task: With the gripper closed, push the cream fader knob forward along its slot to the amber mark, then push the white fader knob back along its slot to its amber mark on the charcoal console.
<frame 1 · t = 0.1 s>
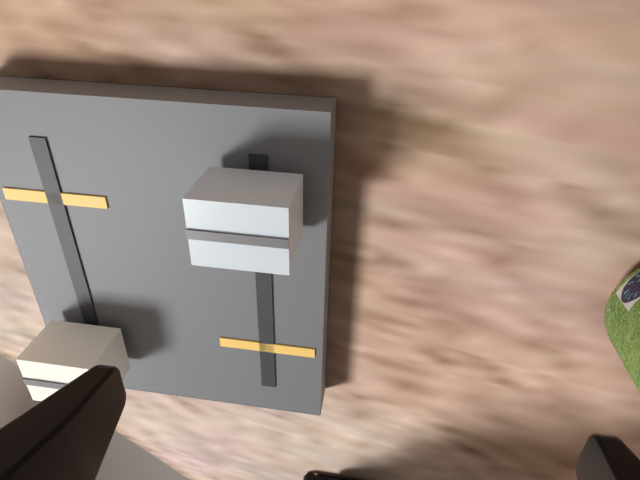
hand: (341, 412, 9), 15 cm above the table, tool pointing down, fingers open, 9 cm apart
console: (183, 255, 27), on the table
cream fader: (76, 364, 26), point 4 cm above the table, slide at 1.0 cm
white fader: (247, 219, 20), point 4 cm above the table, slide at 11.0 cm
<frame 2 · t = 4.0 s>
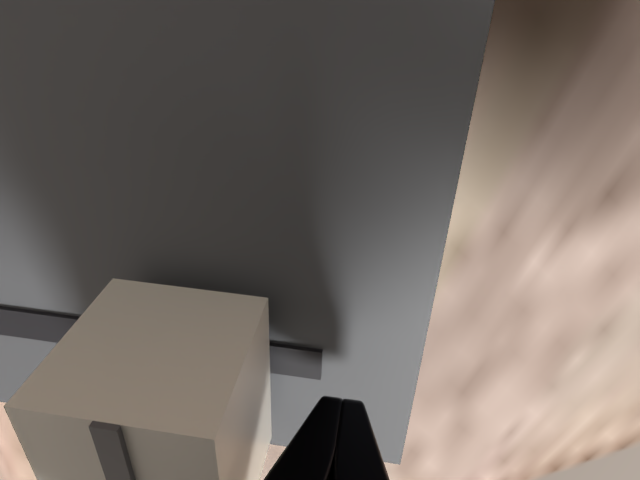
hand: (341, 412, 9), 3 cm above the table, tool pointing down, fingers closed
console: (8, 71, 10), on the table
cream fader: (168, 427, 9), point 4 cm above the table, slide at 1.5 cm, touching gripper
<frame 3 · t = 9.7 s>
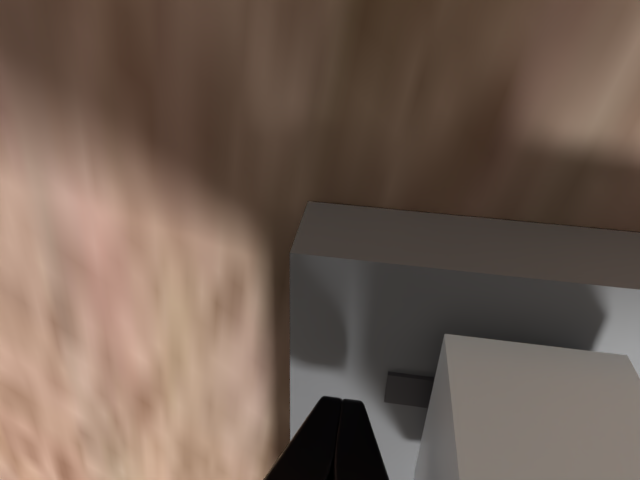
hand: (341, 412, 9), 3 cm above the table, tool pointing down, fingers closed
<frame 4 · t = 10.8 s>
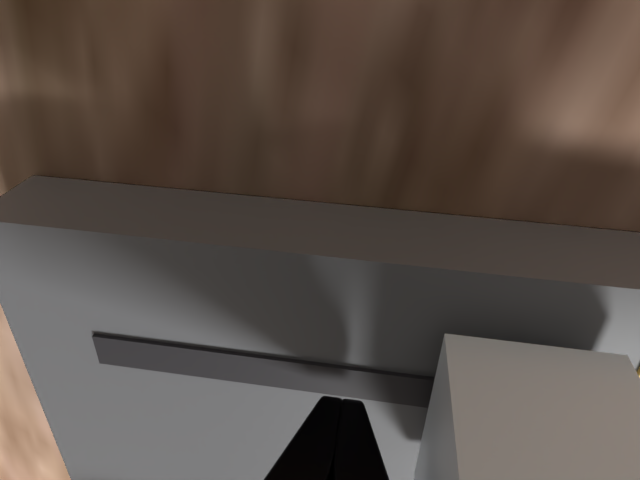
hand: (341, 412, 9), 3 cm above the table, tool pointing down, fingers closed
console: (396, 454, 14), on the table
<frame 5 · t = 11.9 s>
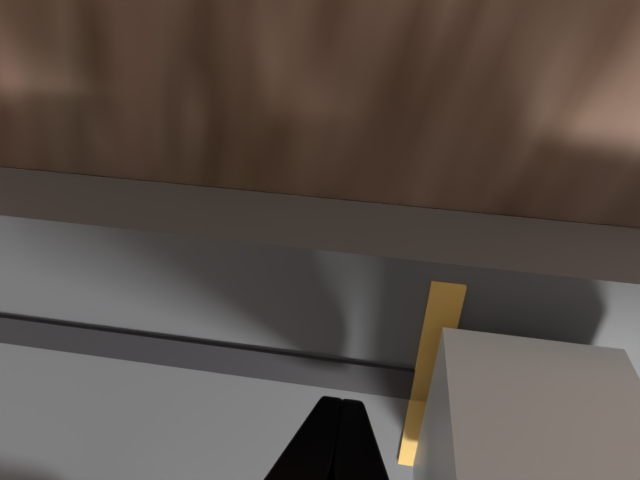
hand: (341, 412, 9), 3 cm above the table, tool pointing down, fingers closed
console: (266, 430, 15), on the table
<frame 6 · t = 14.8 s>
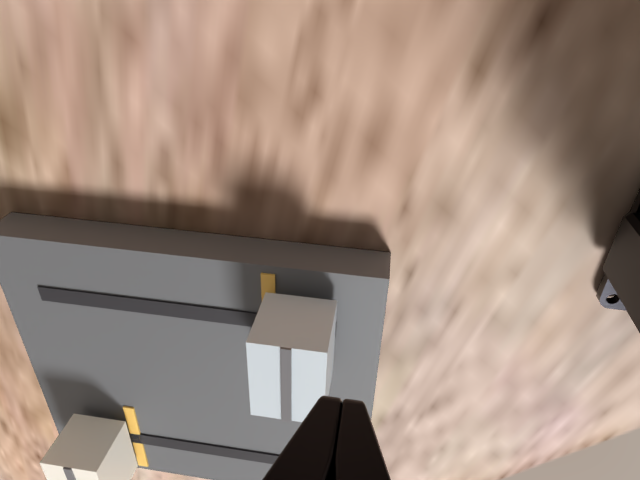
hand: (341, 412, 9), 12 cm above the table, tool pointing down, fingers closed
console: (208, 357, 27), on the table
cream fader: (92, 465, 27), point 4 cm above the table, slide at 11.5 cm
white fader: (293, 358, 20), point 4 cm above the table, slide at 0.5 cm
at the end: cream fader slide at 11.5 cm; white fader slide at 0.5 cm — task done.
